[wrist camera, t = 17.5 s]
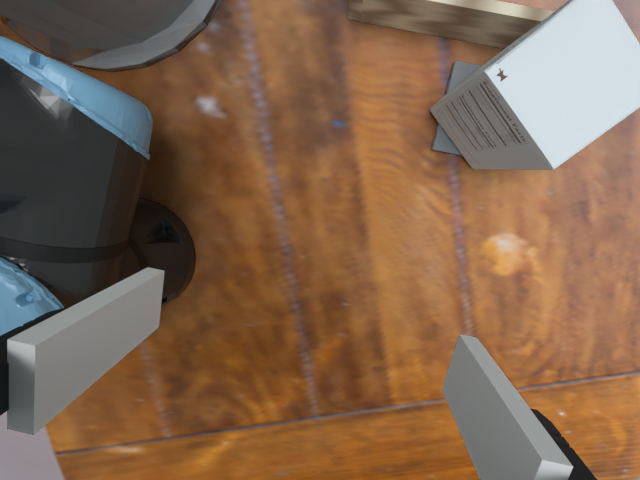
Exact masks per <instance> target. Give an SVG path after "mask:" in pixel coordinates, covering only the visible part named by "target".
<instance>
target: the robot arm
mask: <svg viewBox="0 0 640 480" xmlns="http://www.w3.org/2000/svg"><path fill="white" fill-rule="evenodd" d="M152 128H153V118H152V115H151V113H150V111H149V110H148V108H147V107H146V106H145V105H144V104H143V103H142V102H140V101H139V100H137V99H135V98H133V97H132V96H130V95H128V94H126V93H124V92H122V91H120V90H118V89H116V88H114V87H112V86H110V85H108V84H106V83H104V82H102V81H100V80H97V79H95V78H93V77H91V76H89V75H87V74H85V73H83V72H81V71H78V70H76V69H74V68H72V67H70V66H68V65H65V64H63V63H61V62H59V61H57V60H54V59H52V58H48V57H47V56H45V55H43V54H41V53H38V52H36V51H34V50H32V49H30V48H28V47H26V46H24V45H21V44H19V43H17V42H15V41H12V40H10V39H8V38H5V37H3V36H0V415H2V414H3V413H4V412H6V411H7V429H10V430H15V431H19V432H23V433H27V434H32V435H34V434H35V433H37V432H38V431H39V430H40V429H41V428H42V427H44V426H45V425H46V424H47V423H48V422H49V421H50V420H52V419H53V418H54V417H55V416H56V415H57V414H59V413H60V412H61V411H62V410H63V409H64V408H66V407H67V406H68V405H69V404H70V403H71V402H73V401H74V400H75V399H76V398H77V397H78V396H80V395H81V394H82V393H83V392H84V391H85V390H86V389H88V388H89V387H90V386H91V385H92V384H93V383H95V382H96V381H97V380H98V379H99V378H100V377H102V376H103V375H104V374H105V373H106V372H107V371H109V370H110V369H111V368H112V367H113V366H114V365H116V364H117V363H118V362H119V361H120V360H121V359H122V358H124V357H125V356H126V355H127V354H128V353H129V352H131V351H132V350H133V349H134V348H135V347H136V346H138V345H139V344H140V343H141V342H142V341H143V340H145V339H146V338H147V337H148V336H149V335H150V334H151V333H153V332H154V331H155V330H156V329H157V328H158V327H159V321H160V311H161V306H162V305H164V304H166V303H168V302H169V301H171V300H172V299H173V298H175V297H176V296H177V295H178V294H180V293H181V292H182V291H183V290H184V289H185V287H186V286H187V285H188V283H189V281H190V279H191V277H192V275H193V271H194V267H195V249H194V245H193V241H192V238H191V236H190V234H189V232H188V230H187V228H186V227H185V225H184V224H183V222H182V221H181V220H180V219H179V218H178V217H177V216H176V215H175V214H174V213H173V212H172V211H170V210H169V209H167V208H166V207H164V206H162V205H160V204H158V203H156V202H153V201H149V200H144V199H139V194H140V190H141V186H142V181H143V177H144V173H145V168H146V164H147V160H150V154H149V153H148V152H149V146H150V140H151V134H152ZM442 391H443V393H444V395H445V398H446V400H447V402H448V405H449V407H450V410H451V412H452V414H453V417H454V419H455V421H456V424H457V426H458V429H459V431H460V433H461V436H462V438H463V440H464V443H465V445H466V448H467V450H468V452H469V455H470V457H471V459H472V462H473V464H474V467H475V469H476V471H477V474H478V476H479V479H480V480H597V479H596V478H595V477H594V475H593V474H592V473H591V472H590V470H589V469H588V468H587V467H586V465H585V464H584V463H583V461H582V460H581V459H580V458H579V456H578V455H577V454H576V453H575V451H574V450H573V449H572V448H571V447H569V444H568V443H567V441H566V440H565V439H564V437H561V434H560V432H559V431H558V430H557V429H556V427H555V426H554V425H553V424H552V422H551V421H549V420H548V419H547V418H546V417H545V416H543V415H542V414H541V413H540V412H539V411H537V410H534V409H530V408H529V407H528V405H527V404H526V403H525V401H524V400H523V399H522V397H521V396H520V395H519V393H518V392H517V391H516V389H515V388H514V387H513V385H512V384H511V383H510V381H509V380H508V379H507V377H506V376H505V375H504V373H503V372H502V371H501V369H500V368H499V367H498V365H497V364H496V363H495V361H494V360H493V359H492V357H491V356H490V355H489V353H488V352H487V351H486V349H485V348H484V347H483V345H482V344H481V343H480V341H479V340H478V339H477V338H475V337H471V336H466V335H461V334H459V337H458V340H457V343H456V346H455V349H454V353H453V356H452V359H451V362H450V366H449V369H448V372H447V375H446V379H445V382H444V385H443V388H442Z"/></svg>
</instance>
